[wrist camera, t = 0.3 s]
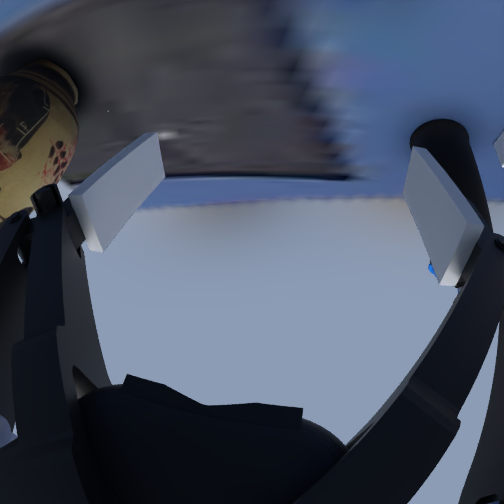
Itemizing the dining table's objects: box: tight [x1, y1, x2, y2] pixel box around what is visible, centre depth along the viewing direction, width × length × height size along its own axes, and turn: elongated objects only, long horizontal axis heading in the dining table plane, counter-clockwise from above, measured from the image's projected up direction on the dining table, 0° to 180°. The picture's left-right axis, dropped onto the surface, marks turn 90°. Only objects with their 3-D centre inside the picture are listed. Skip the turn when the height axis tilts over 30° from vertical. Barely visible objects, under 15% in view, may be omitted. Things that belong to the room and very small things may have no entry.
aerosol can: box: [410, 120, 493, 293], centre depth 26 cm, size 8×8×20 cm
